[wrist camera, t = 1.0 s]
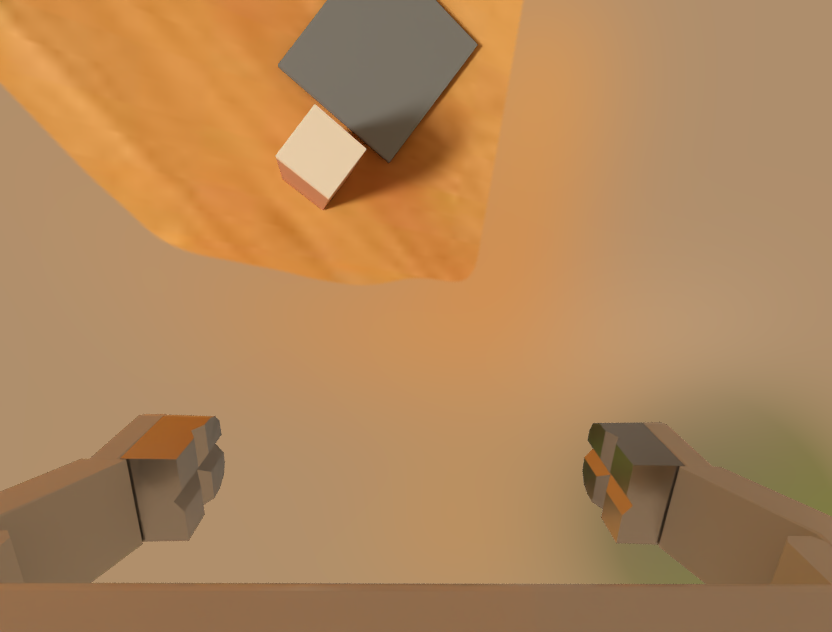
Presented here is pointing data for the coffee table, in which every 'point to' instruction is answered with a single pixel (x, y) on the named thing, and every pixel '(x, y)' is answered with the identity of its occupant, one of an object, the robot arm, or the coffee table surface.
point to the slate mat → (378, 64)
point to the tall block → (318, 157)
